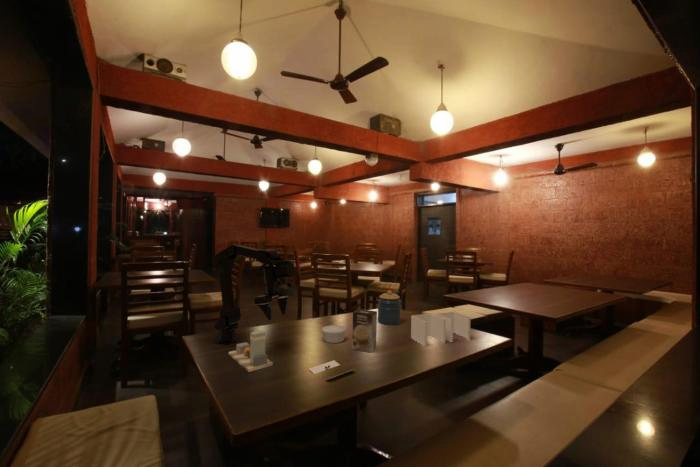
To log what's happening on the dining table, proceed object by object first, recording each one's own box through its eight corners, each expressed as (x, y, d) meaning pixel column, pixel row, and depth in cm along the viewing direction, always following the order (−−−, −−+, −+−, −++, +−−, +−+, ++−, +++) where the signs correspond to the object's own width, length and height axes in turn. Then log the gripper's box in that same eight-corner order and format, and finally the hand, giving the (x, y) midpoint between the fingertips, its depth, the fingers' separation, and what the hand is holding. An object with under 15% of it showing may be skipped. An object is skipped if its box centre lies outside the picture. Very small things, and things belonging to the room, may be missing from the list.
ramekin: (317, 342, 143) (317, 330, 143) (328, 334, 153) (328, 323, 153) (340, 345, 138) (340, 333, 138) (349, 337, 149) (349, 326, 149)
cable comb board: (228, 354, 127) (228, 351, 127) (250, 349, 133) (250, 346, 133) (249, 371, 111) (249, 369, 111) (272, 365, 117) (272, 362, 117)
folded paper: (334, 363, 121) (334, 357, 121) (355, 374, 112) (355, 368, 112) (307, 372, 113) (307, 366, 113) (328, 384, 104) (328, 378, 104)
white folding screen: (454, 333, 158) (454, 311, 158) (470, 340, 147) (470, 317, 147) (411, 339, 149) (411, 315, 148) (424, 347, 138) (424, 321, 138)
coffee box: (351, 349, 134) (351, 311, 134) (357, 344, 140) (357, 308, 140) (371, 353, 130) (372, 314, 130) (377, 348, 136) (377, 310, 136)
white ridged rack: (235, 352, 127) (235, 344, 127) (247, 349, 130) (247, 341, 130) (254, 367, 113) (254, 358, 113) (267, 363, 116) (267, 354, 116)
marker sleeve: (250, 362, 116) (250, 332, 116) (261, 359, 119) (261, 330, 119) (253, 365, 114) (253, 334, 114) (265, 362, 117) (265, 332, 117)
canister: (376, 324, 171) (377, 291, 171) (378, 318, 183) (378, 287, 183) (401, 326, 168) (401, 292, 168) (401, 319, 181) (401, 288, 181)
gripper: (273, 280, 120) (279, 322, 119) (300, 274, 137) (305, 311, 136) (250, 283, 124) (255, 323, 123) (279, 277, 141) (284, 312, 140)
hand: (277, 317), depth 131 cm, fingers open, 9 cm apart
